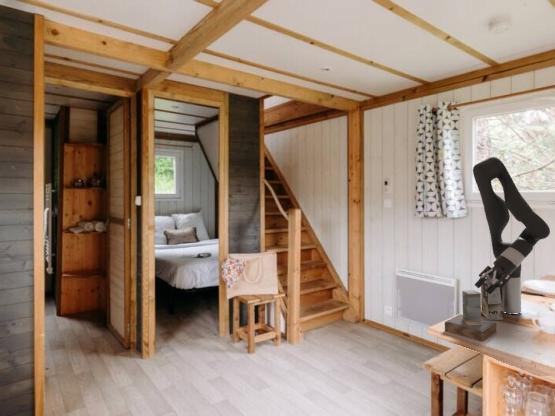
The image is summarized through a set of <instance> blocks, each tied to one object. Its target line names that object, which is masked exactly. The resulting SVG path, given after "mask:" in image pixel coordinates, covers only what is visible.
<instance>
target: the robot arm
mask: <svg viewBox="0 0 555 416" xmlns="http://www.w3.org/2000/svg"><path fill="white" fill-rule="evenodd" d="M472 174H473V178H474V180H475V183H476V186H477V188H478V192H479V195H480V198H481V201H482V205H483V209H484V214H485V218H486V221H487V226H488V228H489V229H488V230H489V235H490V240H491V247H492V254H493V257H494V259H495V260H494V261H493V263H492V264H493V267H490V265H487V266H486V267H485V268H484V269H483V270H482V271H481V272H480V273H479V274H478V276H479V279H478V280H477V281H476V282H475V283H474V286H475V287H476V288H478V289H481V286H482V285H483V284H484V282H485V281H487V280H493V283H492V284H493V285H492V284H491V285H490V286H489V287H488V288H487V289H486V290H485V291H486V292H487V293H488V294H491V293H492V292H493V291H494V290H495V289H496V288H499V287H500V288H502V287H503V312H506V313H520V312H521V313H522V281H521V280H522V279H521V278H522V277H521V275H522V263H523V261H524V260H525V259H526V258H527V257H528V256H529V255H530V254H531V252H532V251H533V250H534V246H535V245H536V244H537V243H538V242H539V241H540V240H544V239H546V238H548V237H549V235H550V234H551V230H550V229H551V228H550V226H549V224H548V223H547V222H546V221H545V220H544V219H543V218H542V217H541V216H539V214H537V213H536V212H535V211H534V210H533V209H532V207H531V206H530V205H529V203H528V201H526V200H525V198H524V197H523V196H522V194H521V193H520V191H519V188H518V187H517V185H516V183H515V182H514V180H513V178H512V176H511V175H510V173H509V171H508V169H507V167H506V166H505V164H504V162H503V161H502V160H501V159H500V158H498V157H497V156H490V157H487V158H485V159H484V160H482V161H479V162H478V163H476V164H475V165H474V166H473V168H472ZM494 179H495V180H496V179H497V180H498V181H499V183H500V184H501V187H502V191H503V198H502V197H501V196H500V195H498V194H497V193H496V192H495V191H494V187H493V185H492V181H493V180H494ZM510 213H511V215H512V216H513V217H514V218H515V220H516V221H517V222H519V223H522V225H524V226H525V228H524V229H523V230H522V231H521V233H520V234H519V236H518V237H517V238H516V239H515V240H514V241H505V240H503V239H502V238H503V237H502V234H503V231H504V230H505V229H506V226H507V225H508V223H509V221H510V218H511V215H510Z"/></svg>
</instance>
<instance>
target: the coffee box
mask: <svg viewBox="0 0 555 416" xmlns="http://www.w3.org/2000/svg"><path fill="white" fill-rule="evenodd" d="M492 283H493V280H487V281H485V282H484V284H483V285H482V286H481V287H480V293H481V315H483V317H485V318H486V319H487V321H490V320H491V321H492V320H493V321H503V320H504V313H503V287H502V288H500V287H499V288H496V289H495V290H494V291H493V292H492V293H491V294H488V293H487V292H486V291H485V290H486V289H487V288H488V287H489V286H490V285H491V284H492ZM492 285H493V284H492Z"/></svg>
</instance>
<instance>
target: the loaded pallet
mask: <svg viewBox="0 0 555 416" xmlns="http://www.w3.org/2000/svg"><path fill="white" fill-rule="evenodd" d="M461 293H462V294H461V295H462V298H461V299H462V301H461V302H462V315H463V318H462V321H463V322H465V323H466V324H467V325H469V326H470V325H482V321H481V319H482V306H481V292H479V291H477V290H475V289H467V290H464V289H463V290H462V291H461Z"/></svg>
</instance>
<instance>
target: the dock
mask: <svg viewBox="0 0 555 416" xmlns="http://www.w3.org/2000/svg"><path fill="white" fill-rule="evenodd" d="M462 318H463V313H462V314H461V313H460V314H458V315H456V316H453V317H452V318H449V319H448V320H446V321H444V331H445V330H447V331H446V332H448V331H450V332H449V333H452V332H453V333H452V334H455V333H456V334H455V335H458V334H460V335H459V336H462V335H463V336H462V337H465V336H466V338H469V339H472V340H476V341H479V342H483V341H485V340H486V339H487V338H489V337H491V336H492V335H494V334H495V333H497V323H496V322H494V321H490V320H486V319H482V318H481V321H482V325H470V326H469V325H467V324H466V323H465V322H463V321H462Z"/></svg>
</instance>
